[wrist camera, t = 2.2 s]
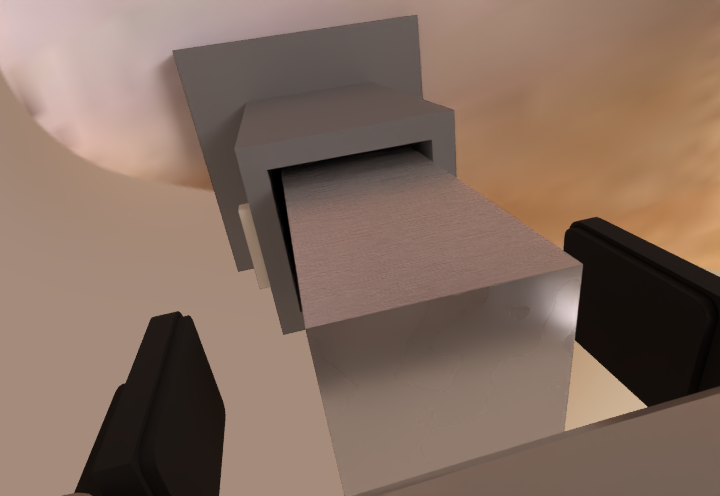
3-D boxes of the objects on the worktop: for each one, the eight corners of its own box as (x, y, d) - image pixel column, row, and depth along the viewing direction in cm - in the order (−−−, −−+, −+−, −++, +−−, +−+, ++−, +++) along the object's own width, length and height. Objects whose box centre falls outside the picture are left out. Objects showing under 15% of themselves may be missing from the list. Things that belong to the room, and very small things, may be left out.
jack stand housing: (408, 16, 25) (545, -11, 13) (423, 222, 31) (527, 336, 19) (177, 50, 23) (88, 55, 11) (239, 261, 29) (223, 412, 17)
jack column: (353, 106, 25) (586, 260, 7) (364, 184, 27) (563, 454, 9) (272, 120, 24) (301, 326, 6) (289, 198, 26) (346, 517, 9)
